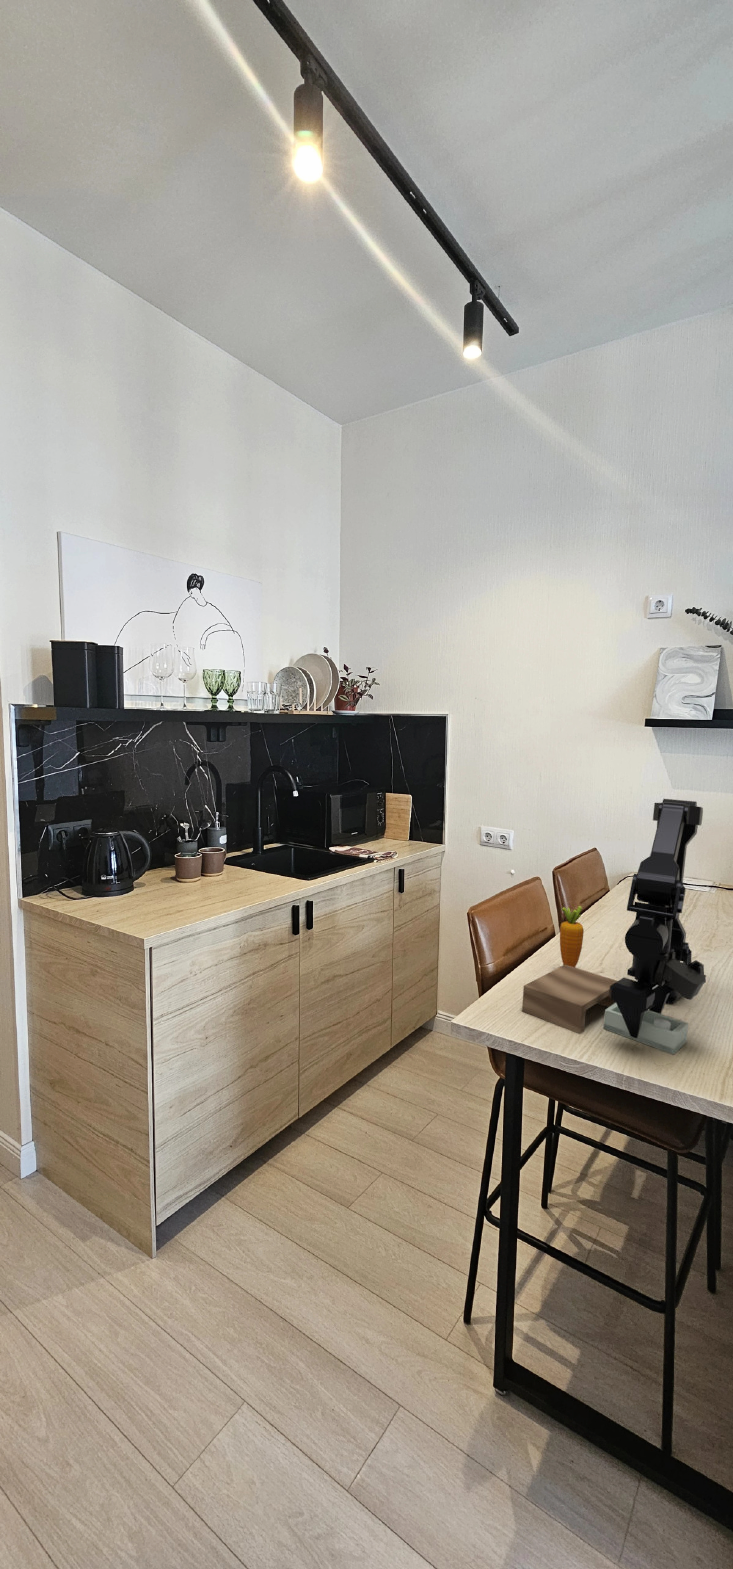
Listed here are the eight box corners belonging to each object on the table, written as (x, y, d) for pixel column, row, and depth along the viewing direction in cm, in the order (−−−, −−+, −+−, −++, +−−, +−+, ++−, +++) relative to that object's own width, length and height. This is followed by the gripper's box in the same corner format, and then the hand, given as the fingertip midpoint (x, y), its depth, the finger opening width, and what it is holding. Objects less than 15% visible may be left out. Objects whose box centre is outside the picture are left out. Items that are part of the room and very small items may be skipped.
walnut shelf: (563, 988, 134) (565, 964, 134) (618, 1006, 127) (620, 981, 126) (522, 1011, 123) (523, 985, 123) (579, 1033, 115) (581, 1006, 115)
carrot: (553, 974, 142) (558, 906, 140) (560, 967, 146) (565, 901, 144) (576, 980, 139) (581, 910, 137) (583, 973, 143) (588, 905, 141)
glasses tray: (617, 1018, 122) (619, 1000, 121) (686, 1042, 113) (688, 1023, 113) (603, 1028, 117) (605, 1009, 117) (673, 1054, 109) (675, 1034, 109)
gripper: (681, 969, 101) (673, 1065, 103) (720, 942, 115) (711, 1028, 116) (611, 949, 109) (604, 1039, 111) (654, 926, 122) (648, 1007, 124)
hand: (644, 1028), depth 115 cm, fingers open, 9 cm apart
